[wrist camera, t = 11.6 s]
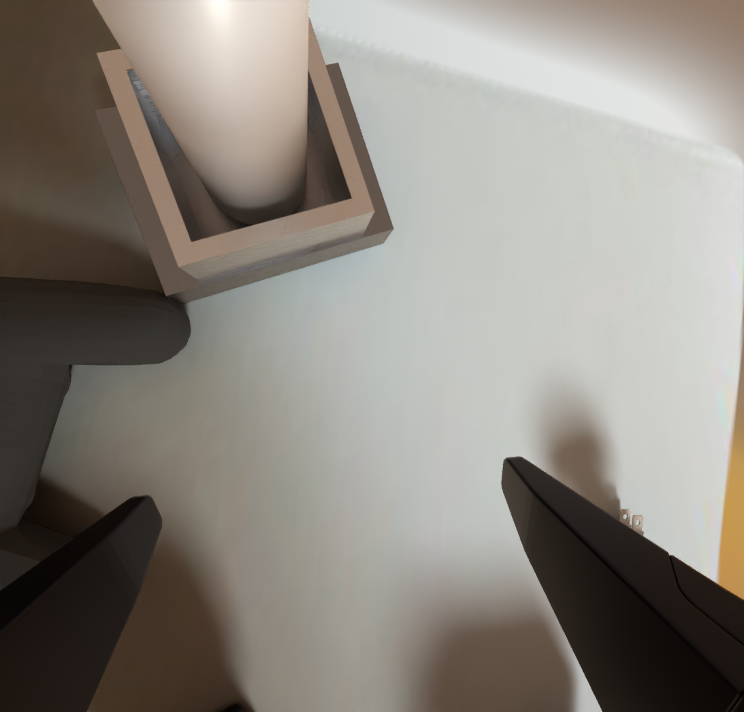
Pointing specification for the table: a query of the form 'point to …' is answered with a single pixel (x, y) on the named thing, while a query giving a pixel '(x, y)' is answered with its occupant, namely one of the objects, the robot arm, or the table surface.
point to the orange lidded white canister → (227, 92)
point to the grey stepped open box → (214, 227)
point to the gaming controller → (62, 381)
